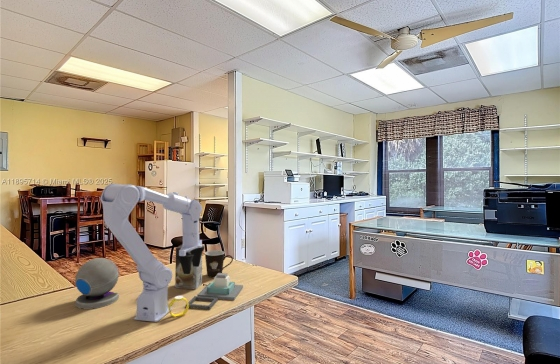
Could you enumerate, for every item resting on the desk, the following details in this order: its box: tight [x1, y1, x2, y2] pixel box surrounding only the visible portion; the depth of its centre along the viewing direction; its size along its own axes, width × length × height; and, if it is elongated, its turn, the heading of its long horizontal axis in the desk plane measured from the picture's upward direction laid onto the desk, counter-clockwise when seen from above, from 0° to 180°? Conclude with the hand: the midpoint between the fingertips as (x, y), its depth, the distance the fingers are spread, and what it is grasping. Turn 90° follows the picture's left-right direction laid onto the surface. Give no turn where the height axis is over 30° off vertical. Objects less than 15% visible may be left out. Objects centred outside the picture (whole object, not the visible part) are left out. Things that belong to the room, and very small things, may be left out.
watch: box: [168, 295, 190, 318], centre depth 94 cm, size 6×3×6 cm, turn 121°
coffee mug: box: [204, 250, 234, 279], centre depth 132 cm, size 12×9×10 cm
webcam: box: [74, 257, 120, 310], centre depth 104 cm, size 13×13×15 cm
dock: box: [196, 280, 244, 301], centre depth 113 cm, size 12×14×3 cm
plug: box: [213, 272, 231, 288], centre depth 113 cm, size 4×5×6 cm
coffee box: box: [174, 243, 203, 290], centre depth 119 cm, size 9×6×16 cm
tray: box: [185, 295, 219, 310], centre depth 103 cm, size 7×9×1 cm
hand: (191, 269), depth 107 cm, fingers open, 7 cm apart
